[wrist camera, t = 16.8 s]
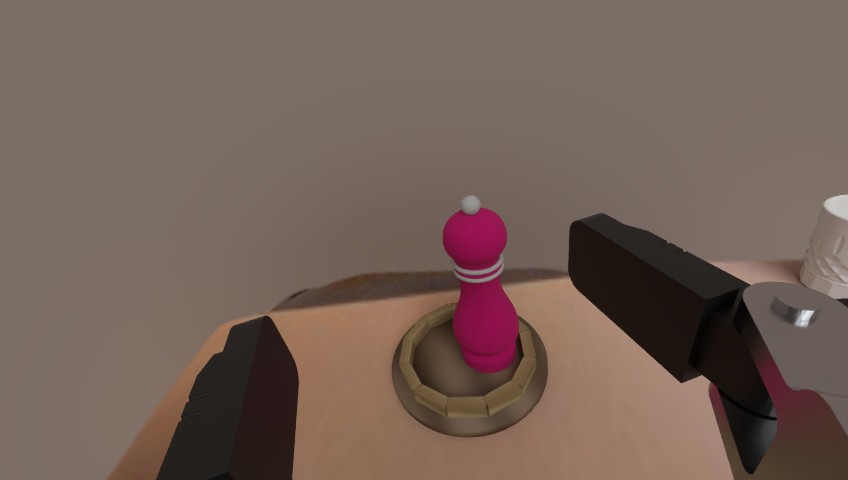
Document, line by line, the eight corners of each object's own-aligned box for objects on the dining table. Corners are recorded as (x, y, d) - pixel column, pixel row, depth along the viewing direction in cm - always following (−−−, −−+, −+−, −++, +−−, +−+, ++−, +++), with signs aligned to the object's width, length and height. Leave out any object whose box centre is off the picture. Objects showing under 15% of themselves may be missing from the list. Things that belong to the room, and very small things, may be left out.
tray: (433, 474, 31) (429, 459, 30) (374, 345, 46) (370, 332, 45) (585, 380, 36) (586, 364, 35) (488, 292, 51) (486, 278, 50)
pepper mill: (470, 323, 45) (447, 180, 35) (526, 335, 41) (520, 180, 31) (449, 367, 39) (415, 213, 29) (511, 385, 36) (498, 218, 26)
